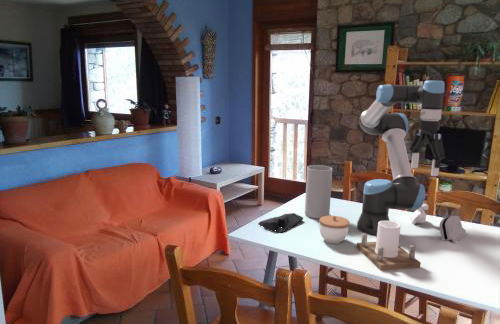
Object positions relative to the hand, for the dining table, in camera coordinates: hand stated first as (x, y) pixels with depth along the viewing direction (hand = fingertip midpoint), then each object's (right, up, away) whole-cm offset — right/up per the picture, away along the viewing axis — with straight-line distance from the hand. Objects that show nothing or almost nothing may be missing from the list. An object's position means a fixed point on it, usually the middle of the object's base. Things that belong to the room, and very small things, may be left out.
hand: (423, 171), depth 156 cm
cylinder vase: (-37, -24, +40) cm, 59 cm away
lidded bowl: (-36, -30, +9) cm, 47 cm away
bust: (+12, -26, +33) cm, 43 cm away
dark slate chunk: (-56, -26, +27) cm, 68 cm away
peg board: (-18, -33, -6) cm, 38 cm away
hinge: (+20, -30, +17) cm, 40 cm away
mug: (-18, -31, -6) cm, 37 cm away
